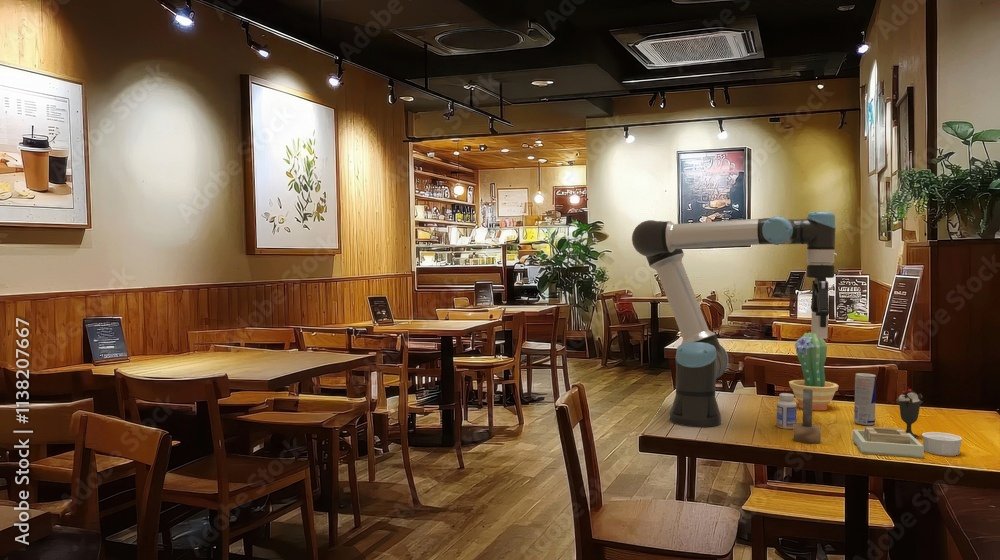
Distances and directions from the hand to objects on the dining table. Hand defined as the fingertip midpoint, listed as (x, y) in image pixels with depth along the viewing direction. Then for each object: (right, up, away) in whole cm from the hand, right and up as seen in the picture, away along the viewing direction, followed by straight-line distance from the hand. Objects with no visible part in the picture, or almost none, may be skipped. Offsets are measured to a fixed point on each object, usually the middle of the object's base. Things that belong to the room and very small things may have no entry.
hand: (819, 336), depth 216 cm
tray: (+7, -28, -25) cm, 38 cm away
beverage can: (+15, -27, +4) cm, 31 cm away
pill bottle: (-10, -27, -1) cm, 29 cm away
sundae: (+20, -27, -11) cm, 36 cm away
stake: (-11, -27, -17) cm, 34 cm away
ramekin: (+19, -28, -28) cm, 44 cm away
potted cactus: (+10, -26, +27) cm, 39 cm away
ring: (+7, -27, -25) cm, 37 cm away
